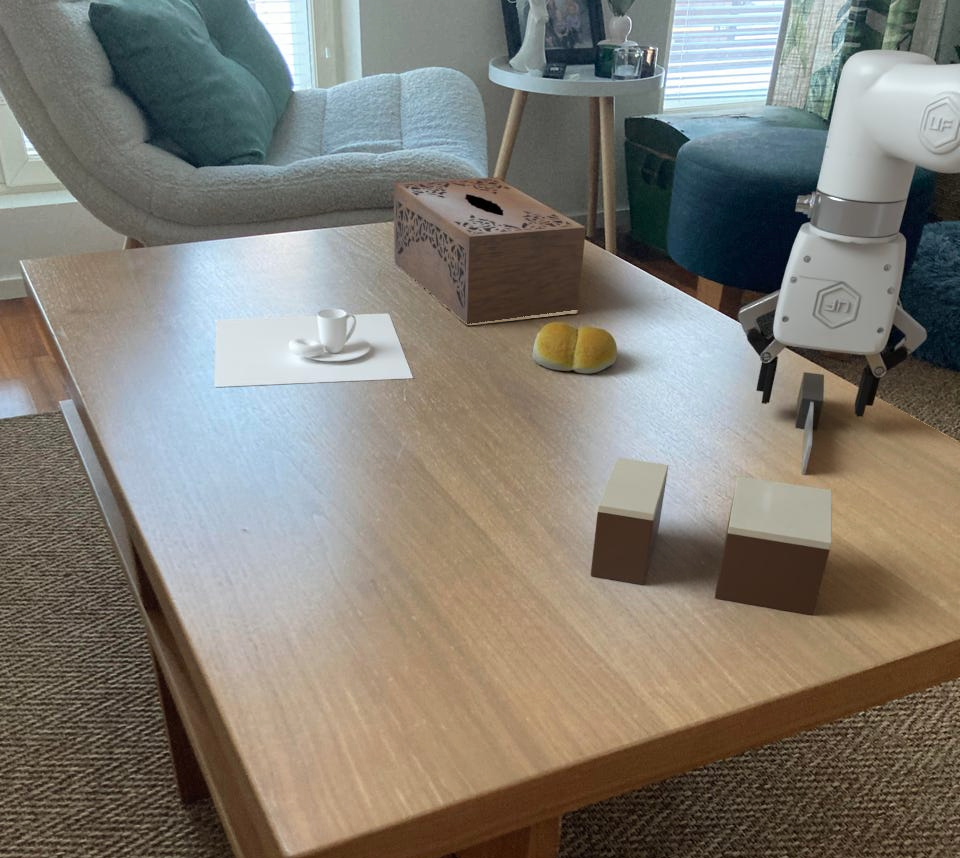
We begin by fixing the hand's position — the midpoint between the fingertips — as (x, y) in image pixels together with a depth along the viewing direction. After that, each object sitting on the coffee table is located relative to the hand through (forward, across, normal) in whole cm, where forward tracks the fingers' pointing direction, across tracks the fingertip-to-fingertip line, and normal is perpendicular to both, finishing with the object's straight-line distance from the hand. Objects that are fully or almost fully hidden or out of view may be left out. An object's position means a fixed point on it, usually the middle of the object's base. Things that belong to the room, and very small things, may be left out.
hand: (811, 404), depth 99 cm
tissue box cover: (+2, -41, +28) cm, 50 cm away
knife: (+2, 0, -3) cm, 4 cm away
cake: (+2, -2, -31) cm, 31 cm away
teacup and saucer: (+2, -53, +1) cm, 53 cm away
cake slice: (+2, -13, -30) cm, 33 cm away
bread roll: (+2, -25, +7) cm, 26 cm away
